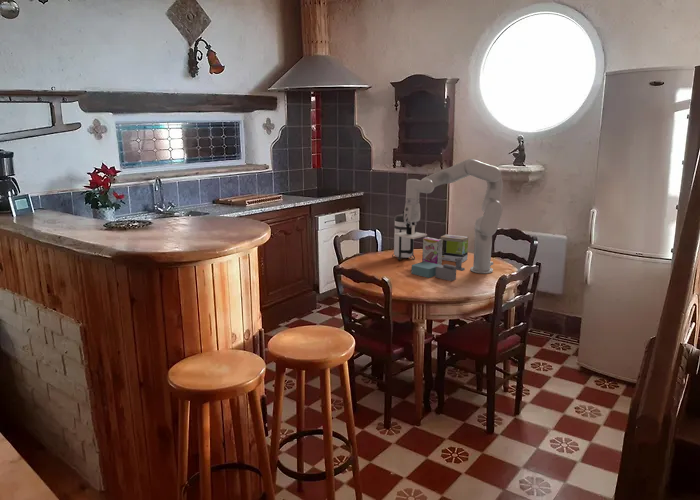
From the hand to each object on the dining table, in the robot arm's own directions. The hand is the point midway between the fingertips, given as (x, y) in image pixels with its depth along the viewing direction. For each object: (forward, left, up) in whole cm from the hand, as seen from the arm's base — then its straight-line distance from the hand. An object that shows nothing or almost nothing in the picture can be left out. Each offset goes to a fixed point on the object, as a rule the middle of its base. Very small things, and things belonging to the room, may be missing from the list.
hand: (410, 233), depth 309 cm
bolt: (-2, +29, -15) cm, 32 cm away
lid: (0, 0, -1) cm, 1 cm away
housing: (-2, +17, -22) cm, 28 cm away
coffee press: (-20, -19, -22) cm, 35 cm away
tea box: (-39, +4, -22) cm, 45 cm away
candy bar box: (-18, +3, -22) cm, 28 cm away
